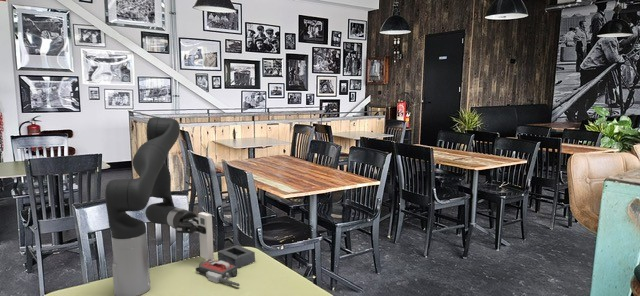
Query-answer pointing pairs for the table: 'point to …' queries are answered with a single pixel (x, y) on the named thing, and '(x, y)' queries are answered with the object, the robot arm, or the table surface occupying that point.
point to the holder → (237, 256)
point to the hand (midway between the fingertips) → (208, 230)
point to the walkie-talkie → (218, 271)
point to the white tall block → (206, 236)
